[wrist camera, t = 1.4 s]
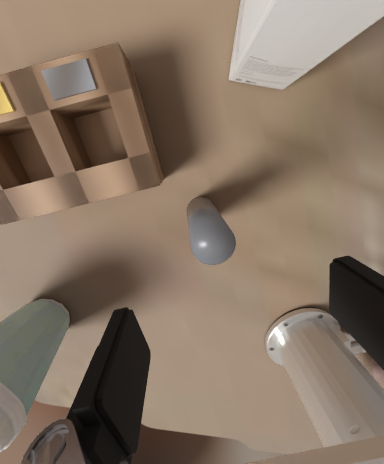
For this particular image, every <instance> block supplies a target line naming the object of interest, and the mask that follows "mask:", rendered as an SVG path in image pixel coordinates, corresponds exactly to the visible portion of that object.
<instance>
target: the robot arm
mask: <svg viewBox="0 0 384 464" xmlns="http://www.w3.org/2000/svg"><path fill="white" fill-rule="evenodd" d="M329 309H330V312H331V314H332V315H331V314H330V313H328V312H326V311H324V310H321V309H317V308H303V309H298V310H295V311H292V312H289V313H287V314H286V315H284V316H282V317H281V318H279V319H278V320H277V321H276V322H275V323H274V324H273V325H272V326H271V328H270V329H269V331H268V333H267V335H266V339H265V347H266V349H267V352H268V354H269V356H270V358H271V359H272V360H273V361H274V362H276V363H277V364H279V365H281V366H284V367H285V368H286V370H287V372H288V374H289V376H290V378H291V381H292V383H293V385H294V387H295V389H296V391H297V393H298V395H299V397H300V399H301V401H302V403H303V405H304V407H305V409H306V411H307V413H308V415H309V417H310V419H311V421H312V423H313V425H314V427H315V429H316V431H317V433H318V435H319V437H320V439H321V441H322V443H323V445H324V448H320V449H315V450H310V451H305V452H300V453H295V454H290V455H285V456H281V457H275V458H271V459H266V460H261V461H256V462H251V463H246V464H384V389H383V388H382V387H381V386H380V385H379V383H378V382H377V381H376V380H375V379H374V378H373V376H372V375H371V374H370V373H369V372H368V371H367V370H366V368H365V367H364V366H363V365H362V364H361V363H360V362H359V360H358V359H357V358H356V357H355V356H354V354H357V353H364V352H367V353H368V354H369V355H370V356H371V357H372V358H373V359H374V360H375V361H376V362H377V364H378V365H379V366H380V367H381V368H382V369H383V370H384V276H382V275H381V274H379V273H377V272H376V271H374V270H372V269H371V268H369V267H367V266H366V265H364V264H362V263H361V262H359V261H357V260H356V259H354V258H352V257H350V256H344V257H339V258H335V259H333V262H332V263H331V264H330V291H329ZM337 321H338V322H339V323H340V324H341V325H342V327H343V328H344V329H345V330H346V331H347V332H348V333H345V332H342V331H341V327H340V325H339V323H338V322H337ZM150 357H151V356H150V349H149V347H148V344H147V342H146V340H145V337H144V335H143V333H142V331H141V328H140V326H139V324H138V321H137V319H136V317H135V315H134V312H133V310H129V309H128V308H127V307H126V308H121V309H117V310H114V312H113V314H112V316H111V318H110V321H109V323H108V325H107V328H106V330H105V332H104V335H103V337H102V339H101V342H100V344H99V346H98V347H97V349H96V351H95V353H94V355H93V358H92V360H91V362H90V365H89V367H88V369H87V372H86V374H85V376H84V378H83V381H82V383H81V385H80V388H79V390H78V392H77V395H76V397H75V399H74V402H73V404H72V406H71V409H70V411H69V413H68V416H67V418H65V419H59V420H57V421H55V422H52V423H51V424H50V425H48V426H47V427H46V428H44V429H43V430H42V431H41V432H40V433H39V435H37V436H36V438H35V439H34V440H33V442H32V443H31V444H30V446H29V447H28V449H27V451H26V453H25V454H24V456H23V459H22V461H21V464H131V459H132V454H134V453H135V452H136V450H137V446H138V439H139V432H140V426H141V419H142V412H143V405H144V398H145V392H146V385H147V378H148V371H149V364H150Z"/></svg>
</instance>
